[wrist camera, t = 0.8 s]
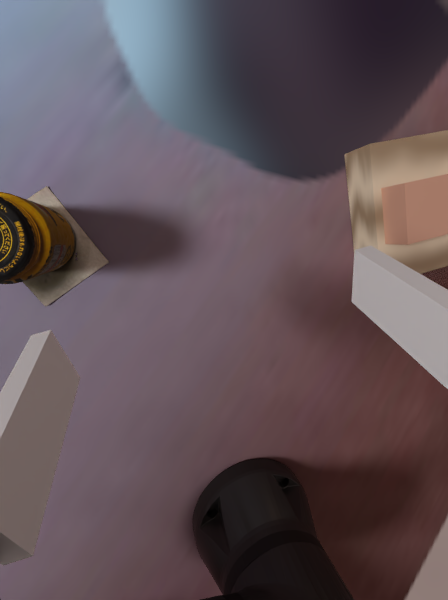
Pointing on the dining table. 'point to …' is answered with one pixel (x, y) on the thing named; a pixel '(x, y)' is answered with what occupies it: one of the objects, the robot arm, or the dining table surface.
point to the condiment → (44, 246)
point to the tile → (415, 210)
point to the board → (387, 172)
